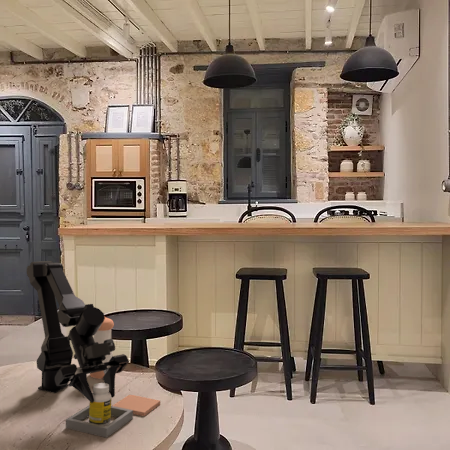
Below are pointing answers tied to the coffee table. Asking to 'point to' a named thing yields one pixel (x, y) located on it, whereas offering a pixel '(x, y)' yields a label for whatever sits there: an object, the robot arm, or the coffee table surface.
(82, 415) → the grey square frame
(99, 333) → the pepper shaker
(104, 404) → the supplement bottle
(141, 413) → the coaster
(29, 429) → the coffee table surface
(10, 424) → the coffee table surface
